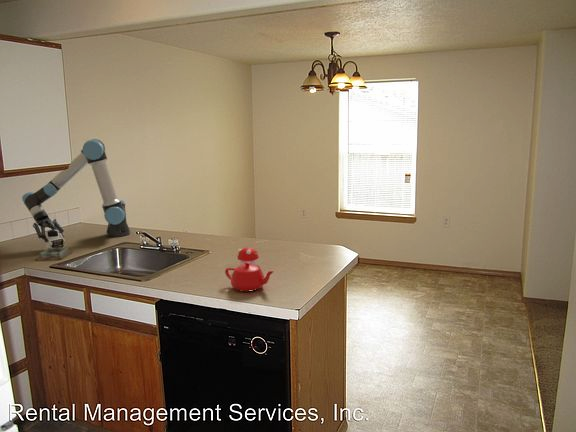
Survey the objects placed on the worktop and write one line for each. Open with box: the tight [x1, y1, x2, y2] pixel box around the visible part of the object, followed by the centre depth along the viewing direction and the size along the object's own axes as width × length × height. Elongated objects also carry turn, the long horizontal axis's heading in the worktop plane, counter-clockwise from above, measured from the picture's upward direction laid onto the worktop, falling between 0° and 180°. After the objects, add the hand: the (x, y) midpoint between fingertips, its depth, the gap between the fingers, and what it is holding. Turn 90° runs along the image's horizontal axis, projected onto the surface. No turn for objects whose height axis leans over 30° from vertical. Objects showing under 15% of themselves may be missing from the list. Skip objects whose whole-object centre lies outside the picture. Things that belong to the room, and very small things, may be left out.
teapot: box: [224, 262, 275, 292], centre depth 213 cm, size 25×16×12 cm, turn 66°
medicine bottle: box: [45, 229, 65, 250], centre depth 282 cm, size 7×7×12 cm
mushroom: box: [237, 246, 260, 266], centre depth 238 cm, size 11×11×12 cm
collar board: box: [35, 247, 73, 261], centre depth 269 cm, size 14×14×4 cm
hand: (57, 244), depth 280 cm, fingers closed on medicine bottle, 7 cm apart
